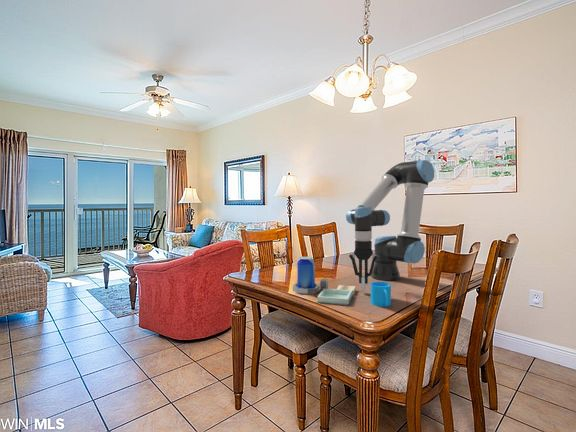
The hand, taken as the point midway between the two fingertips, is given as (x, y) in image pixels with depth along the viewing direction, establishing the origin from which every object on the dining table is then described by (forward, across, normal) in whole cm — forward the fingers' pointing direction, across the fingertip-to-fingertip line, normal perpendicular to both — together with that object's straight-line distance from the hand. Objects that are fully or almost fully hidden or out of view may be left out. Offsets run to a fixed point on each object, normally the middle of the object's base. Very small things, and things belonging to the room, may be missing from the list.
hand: (363, 290), depth 145 cm
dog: (+2, +18, 0) cm, 19 cm away
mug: (+2, -9, +14) cm, 17 cm away
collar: (+2, +27, +2) cm, 27 cm away
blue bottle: (+2, +27, +2) cm, 27 cm away
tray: (+2, +11, +12) cm, 16 cm away
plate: (+2, +8, 0) cm, 8 cm away
